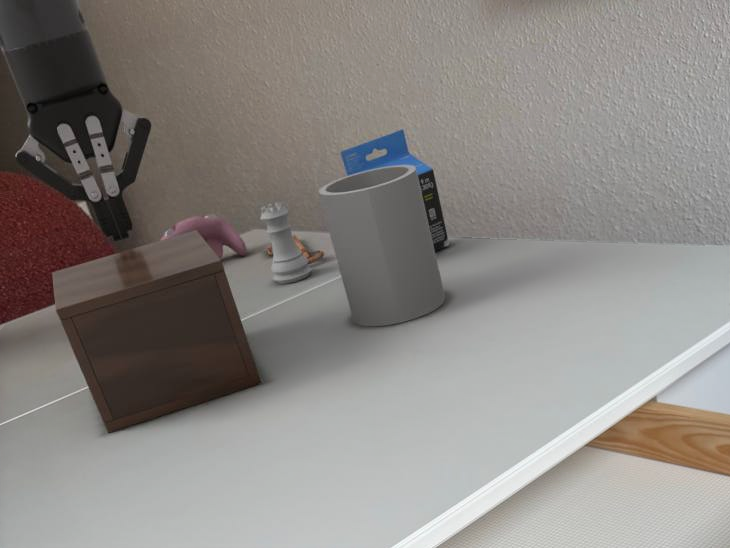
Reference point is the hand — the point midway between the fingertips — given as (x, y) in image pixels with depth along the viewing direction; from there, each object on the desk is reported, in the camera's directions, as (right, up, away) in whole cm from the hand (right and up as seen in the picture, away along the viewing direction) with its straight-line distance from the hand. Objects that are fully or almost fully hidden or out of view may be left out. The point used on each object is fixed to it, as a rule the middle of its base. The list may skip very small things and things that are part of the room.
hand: (121, 238), depth 104 cm
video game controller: (0, +9, +35) cm, 36 cm away
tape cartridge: (+26, +4, +17) cm, 32 cm away
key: (+12, +9, +29) cm, 33 cm away
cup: (+26, -6, +2) cm, 27 cm away
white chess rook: (+13, +3, +21) cm, 25 cm away
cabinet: (+6, -14, -3) cm, 16 cm away
